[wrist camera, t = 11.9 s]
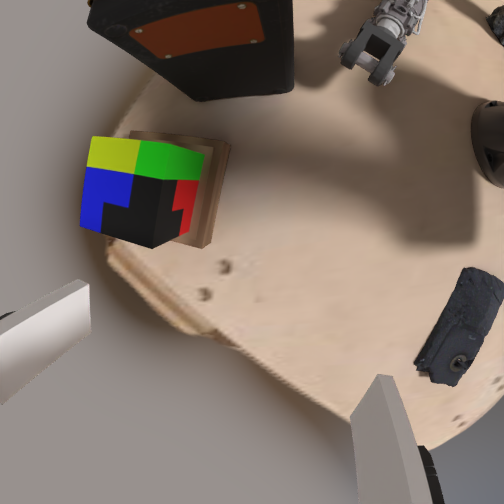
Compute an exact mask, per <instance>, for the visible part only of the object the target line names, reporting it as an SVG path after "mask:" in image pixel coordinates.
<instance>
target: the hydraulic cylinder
mask: <svg viewBox="0 0 504 504" xmlns="http://www.w3.org/2000/svg"><path fill="white" fill-rule="evenodd" d="M427 2H428V0H382V1H381V3H380V4H379V5H378V6H377V7H375V9H374V10H375V11H374V13H373V14H374V15H375V16H376V17H374V18H371V19H367V21H366V22H365V23H364V24H363V26H362V27H361V29H360V31H359V33H358V35H357V38H356V39H355V40H354V41H352V39H351V40H350V41H349V43H344V44H343V45H342V47H341V48H340V50H339V58H340V57H341V56H342V58H341V64H342V65H343V66H345V67H347V68H348V69H352V68H353V67H354V65H355V64H357V65H358V66H360V67H362V68H363V69H365V70H366V71H368V72H370V73H371V75H370V76H369V78H368V81H370V82H371V83H373V84H374V85H376V86H379V85H381V84H382V83H383V82H384V84H383V86H385V85H386V84H389V83H390V81H391V80H392V79H393V77H394V75H395V73H394V72H393V71H394V69H395V68H396V67H397V66H395V67H394V68H392V67H393V66H392V65H393V62H394V61H395V60H396V59H397V57H398V56H399V55H400V54H401V52H402V50H403V49H404V48H405V46H406V44H407V42H406V40H407V39H405V35H407V36H409V35H411V34H412V33H414V34H416V35H419V34H420V29H421V24H422V20H423V17H424V14H425V10H426V5H427ZM372 19H373V20H372ZM419 19H420V20H419ZM418 20H419V24H418V29H417V32H415V31H414V29H415V28H414V27H415V25H416V24H417V22H418ZM404 39H405V40H404ZM363 51H366V52H367V53H369V54H371V55H372V56H374V57H375V58H377V59H379V60H380V61H379V62H378V61H377V60H375V59H374V58H372V57H370V56H369V55H367V54H366V53H364V52H363Z"/></svg>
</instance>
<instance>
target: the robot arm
mask: <svg viewBox="0 0 504 504" xmlns="http://www.w3.org/2000/svg"><path fill="white" fill-rule="evenodd" d="M471 135H472V142H473V147H474V151H475V154H476V157H477V160H478V162H479V165H480V167H481V169H482V170H483V172H484V174H485V175H486V176H487V178H488V179H489V180H490V181H491V182H492V183H493V184H494V185H496V186H498V187H500V188H504V102H501V101H489V102H486V103H483V104H481V105H479V106H478V107H477V109H476V110H475V112H474V114H473V118H472V124H471ZM90 333H91V321H90V302H89V284H88V283H85V282H83V281H81V280H79V279H77V280H75V281H73V282H71V283H69V284H67V285H65V286H63V287H61V288H59V289H57V290H55V291H53V292H51V293H49V294H47V295H45V296H43V297H42V298H40V299H38V300H36V301H34V302H32V303H30V304H28V305H27V306H25V307H23V308H21V309H19V310H17V311H14V312H10V313H6V314H4V315H2V316H1V317H0V403H1V404H2V405H3V404H4V403H5V402H6V401H7V400H9V399H10V398H11V397H12V396H13V395H14V394H16V393H17V392H18V391H19V390H20V389H22V388H23V387H24V386H25V385H26V384H28V383H29V382H30V381H31V380H32V379H34V378H35V377H36V376H37V375H38V374H40V373H41V372H42V371H43V370H44V369H45V368H47V367H48V366H49V365H51V364H52V363H53V362H54V361H56V360H57V359H58V358H59V357H61V356H62V355H63V354H64V353H66V352H67V351H68V350H69V349H71V348H72V347H73V346H75V345H76V344H77V343H78V342H80V341H81V340H82V339H84V338H85V337H86V336H87V335H89V334H90ZM350 420H351V428H352V435H353V444H354V452H355V460H356V472H357V484H358V497H359V504H445V503H444V499H443V495H442V491H441V487H440V484H439V480H438V477H437V476H436V474H437V473H436V470H435V468H434V463H433V460H432V457H431V455H430V453H429V452H428V451H427V449H426V448H425V447H424V445H423V446H417V443H416V440H415V437H414V434H413V431H412V428H411V425H410V422H409V419H408V416H407V413H406V410H405V408H404V405H403V402H402V399H401V397H400V394H399V391H398V389H397V386H396V384H395V381H394V379H393V376H388V375H382V374H377V376H376V378H375V379H374V381H373V382H372V384H371V386H370V387H369V389H368V390H367V392H366V394H365V395H364V397H363V398H362V400H361V401H360V403H359V404H358V406H357V407H356V409H355V410H354V411H353V413H352V414H351V416H350Z"/></svg>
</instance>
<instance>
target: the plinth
mask: <svg viewBox="0 0 504 504" xmlns="http://www.w3.org/2000/svg"><path fill="white" fill-rule="evenodd" d="M129 139H134V140H143V141H152V142H160V143H167V144H173V145H176V146H179V147H183V148H186V149H189V150H192V151H195V152H199V153H202V154H205V157H204V161H203V166H202V170H201V175H200V179H199V184H198V188H197V193H196V198H195V203H194V208H193V213H192V219H191V224H190V229H189V232H187V233H185V234H183V235H180V236H178V237H176V238H174V239H172V240H170V241H174V242H178V243H181V244H185V245H189V246H193V247H197V248H200V249H203V248H204V247H205V246H207V245H208V244H210V243H211V239H212V233H213V228H214V223H215V218H216V213H217V208H218V203H219V198H220V193H221V188H222V183H223V179H224V174H225V169H226V165H227V160H228V156H229V151H230V147H231V145H229V144H227V143H226V142H224V141H219V140H213V139H206V138H199V137H192V136H184V135H175V134H166V133H155V132H143V131H130V136H129Z"/></svg>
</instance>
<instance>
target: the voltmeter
mask: <svg viewBox="0 0 504 504" xmlns="http://www.w3.org/2000/svg"><path fill="white" fill-rule="evenodd" d="M87 3H88V5H89V7H91V10H90V13H89V16H88V20H87V25H88V27H89V28H90V29H91V30H92V31H94V32H96V33H97V34H99V35H101V36H102V37H104V38H106V39H107V40H109V41H110V42H112V43H114V44H115V45H117V46H118V47H120V48H121V49H123V50H125V51H126V52H128V53H129V54H131V55H132V56H134V57H135V58H136V59H138V60H139V61H141V62H142V63H144V64H145V65H147V66H148V67H149V68H151V69H152V70H154V71H155V72H157V73H158V74H159V75H161V76H162V77H163V78H165V79H166V80H168V81H169V82H170V83H172V84H173V85H174V86H176V87H177V88H178V89H180V90H181V91H182V92H184V93H185V94H186V95H187V96H189V97H190V98H191V99H193V100H194V101H199V102H203V101H206V100H213V99H220V98H228V97H237V96H247V95H260V94H282V93H288V92H290V91H292V90H293V88H294V29H293V2H292V0H88V2H87Z"/></svg>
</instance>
